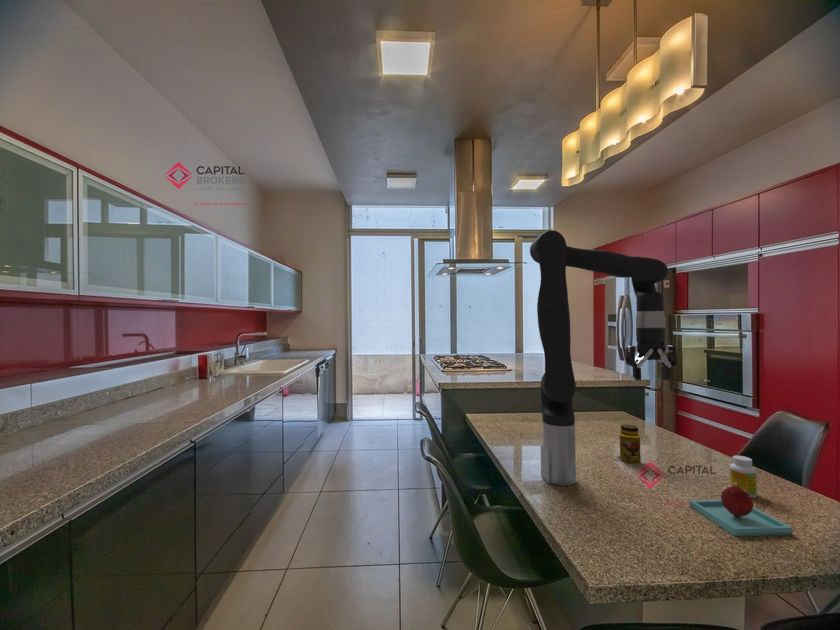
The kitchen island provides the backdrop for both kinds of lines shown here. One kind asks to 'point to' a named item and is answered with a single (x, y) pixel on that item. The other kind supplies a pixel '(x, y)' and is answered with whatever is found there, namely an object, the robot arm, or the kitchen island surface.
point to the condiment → (629, 446)
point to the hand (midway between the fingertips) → (651, 379)
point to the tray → (740, 520)
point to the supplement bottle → (743, 475)
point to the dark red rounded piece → (736, 501)
